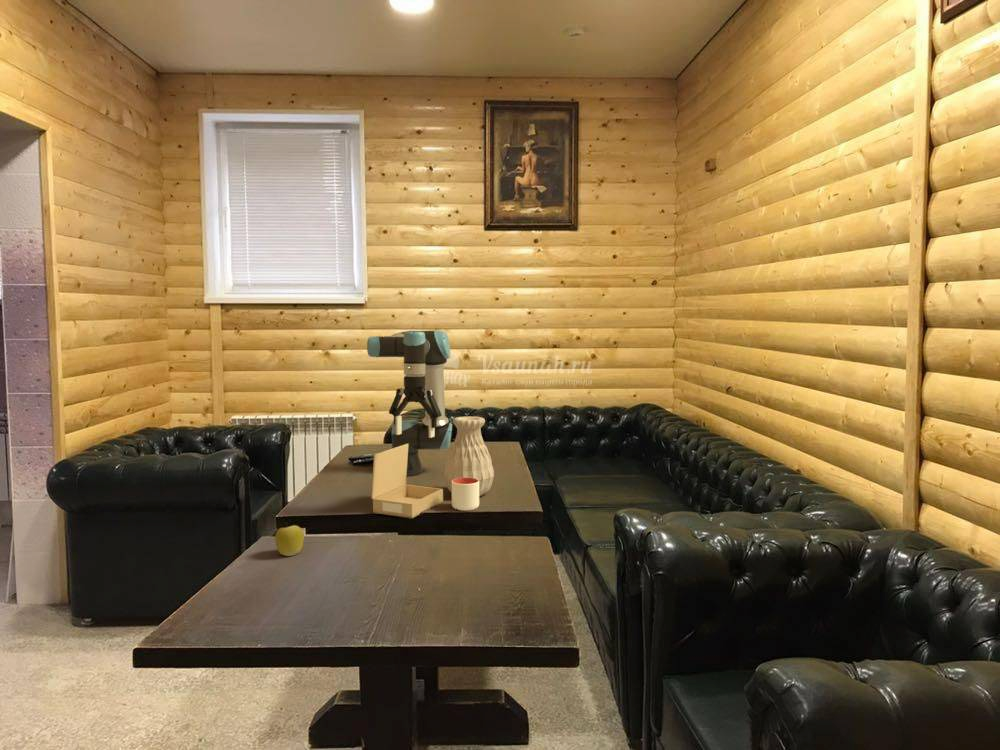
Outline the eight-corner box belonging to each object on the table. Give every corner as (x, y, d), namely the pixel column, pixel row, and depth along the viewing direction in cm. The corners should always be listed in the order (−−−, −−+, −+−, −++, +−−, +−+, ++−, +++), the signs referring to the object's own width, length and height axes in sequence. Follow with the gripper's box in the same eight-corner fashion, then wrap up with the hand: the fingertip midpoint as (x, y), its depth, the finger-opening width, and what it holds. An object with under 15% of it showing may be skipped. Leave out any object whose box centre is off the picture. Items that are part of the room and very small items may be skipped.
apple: (306, 553, 192) (295, 521, 190) (279, 563, 191) (267, 531, 189) (310, 544, 199) (298, 513, 198) (283, 553, 198) (272, 523, 197)
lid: (405, 484, 255) (404, 484, 255) (408, 443, 253) (407, 443, 253) (372, 498, 235) (371, 498, 235) (375, 454, 233) (373, 454, 233)
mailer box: (406, 497, 255) (406, 484, 255) (443, 502, 249) (442, 488, 249) (373, 512, 235) (372, 499, 235) (412, 518, 229) (411, 504, 228)
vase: (451, 486, 272) (451, 413, 269) (499, 489, 268) (499, 415, 265) (436, 499, 252) (436, 421, 250) (488, 502, 248) (488, 423, 246)
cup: (475, 512, 236) (475, 484, 235) (448, 510, 238) (448, 483, 237) (481, 504, 246) (481, 478, 245) (455, 503, 248) (455, 476, 247)
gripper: (378, 375, 234) (379, 434, 236) (440, 377, 223) (440, 439, 225) (390, 373, 241) (391, 431, 242) (451, 376, 230) (451, 436, 232)
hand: (415, 435), depth 234 cm, fingers open, 13 cm apart
